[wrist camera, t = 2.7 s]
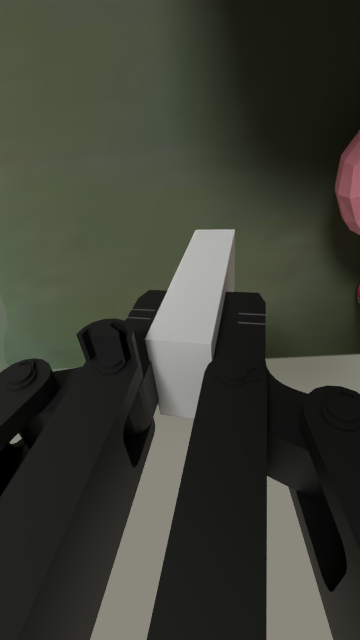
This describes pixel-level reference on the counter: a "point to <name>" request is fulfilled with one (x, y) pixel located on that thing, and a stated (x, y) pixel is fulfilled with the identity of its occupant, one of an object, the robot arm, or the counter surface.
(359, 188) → the apple
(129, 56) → the counter surface
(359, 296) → the beverage can
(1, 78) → the counter surface
